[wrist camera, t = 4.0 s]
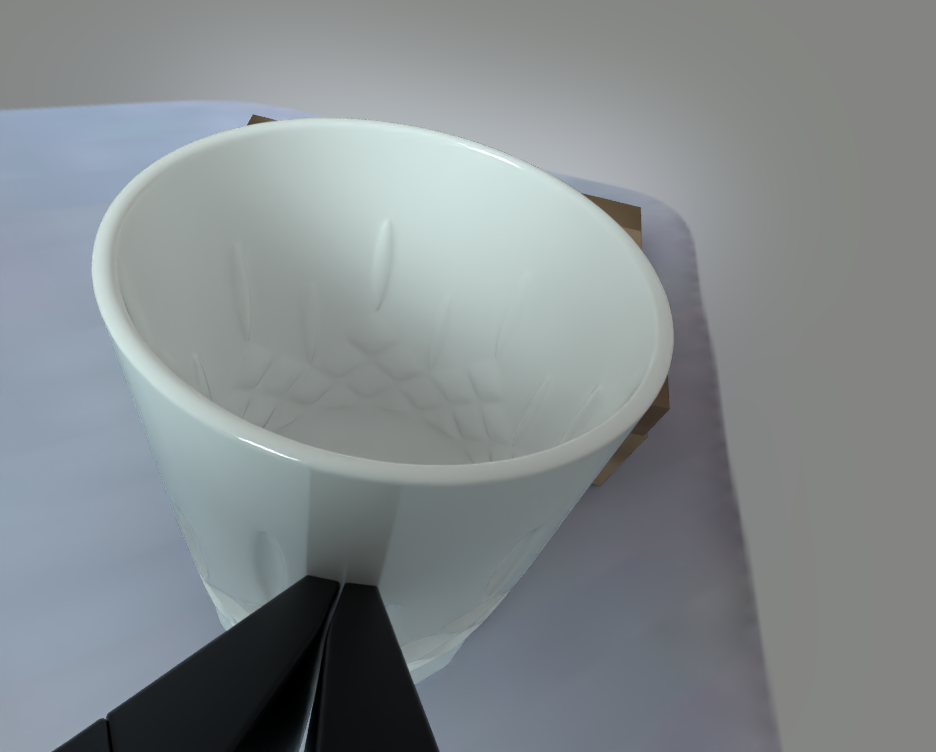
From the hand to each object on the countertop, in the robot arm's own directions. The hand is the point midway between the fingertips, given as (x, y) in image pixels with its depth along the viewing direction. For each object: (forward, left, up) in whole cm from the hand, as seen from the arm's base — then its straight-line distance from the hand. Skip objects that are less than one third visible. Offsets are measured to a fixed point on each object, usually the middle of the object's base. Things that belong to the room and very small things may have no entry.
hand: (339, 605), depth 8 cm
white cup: (+2, 0, -8) cm, 8 cm away
